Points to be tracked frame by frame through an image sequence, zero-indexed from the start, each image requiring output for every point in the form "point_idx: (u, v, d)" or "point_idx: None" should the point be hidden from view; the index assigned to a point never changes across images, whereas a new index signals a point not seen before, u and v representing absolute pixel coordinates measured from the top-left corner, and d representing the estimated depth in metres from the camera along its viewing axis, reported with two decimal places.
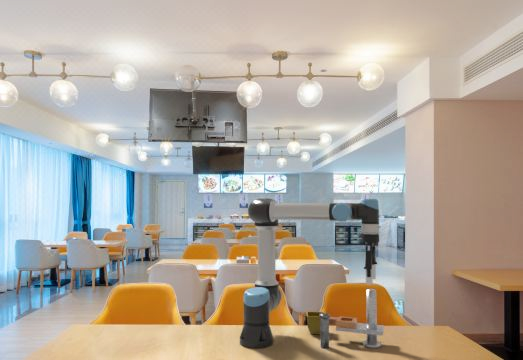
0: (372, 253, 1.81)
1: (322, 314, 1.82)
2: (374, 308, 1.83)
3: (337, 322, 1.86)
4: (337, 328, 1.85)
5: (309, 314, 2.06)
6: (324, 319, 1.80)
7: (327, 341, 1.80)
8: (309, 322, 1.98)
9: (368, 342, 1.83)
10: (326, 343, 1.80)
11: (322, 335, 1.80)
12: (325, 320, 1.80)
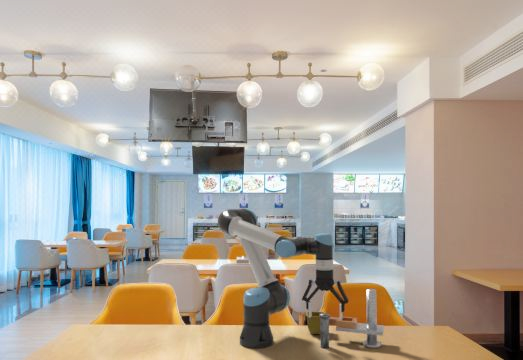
0: None
1: (322, 314, 1.82)
2: (374, 308, 1.83)
3: (337, 322, 1.86)
4: (337, 328, 1.85)
5: None
6: (324, 319, 1.80)
7: (327, 341, 1.80)
8: (309, 322, 1.98)
9: (368, 342, 1.83)
10: (326, 343, 1.80)
11: (322, 335, 1.80)
12: (325, 320, 1.80)
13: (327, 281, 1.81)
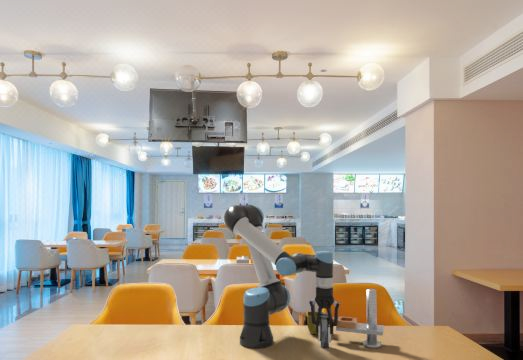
0: (318, 308, 1.82)
1: (322, 314, 1.82)
2: (374, 308, 1.83)
3: None
4: (337, 328, 1.85)
5: (309, 314, 2.06)
6: (324, 319, 1.80)
7: (327, 341, 1.80)
8: (309, 322, 1.98)
9: (368, 342, 1.83)
10: (326, 343, 1.80)
11: (322, 335, 1.80)
12: (325, 320, 1.80)
13: (328, 297, 1.81)
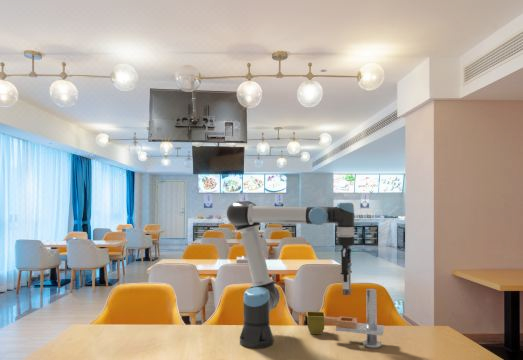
0: (348, 257, 1.87)
1: None
2: (374, 308, 1.83)
3: (337, 322, 1.86)
4: (337, 328, 1.85)
5: (309, 314, 2.06)
6: None
7: None
8: (309, 322, 1.98)
9: (368, 342, 1.83)
10: None
11: (350, 282, 1.88)
12: None
13: (349, 245, 1.92)
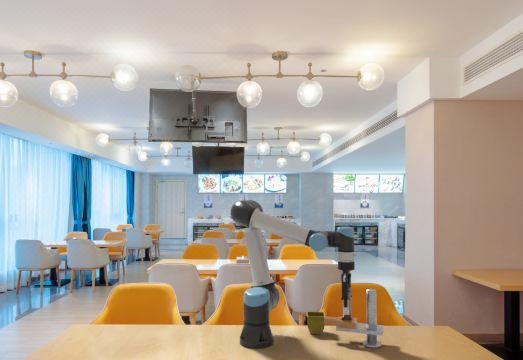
0: (348, 282, 1.87)
1: None
2: (374, 308, 1.83)
3: (337, 322, 1.86)
4: (337, 328, 1.85)
5: (309, 314, 2.06)
6: (350, 291, 1.89)
7: None
8: (309, 322, 1.98)
9: (368, 342, 1.83)
10: None
11: (350, 307, 1.88)
12: None
13: None
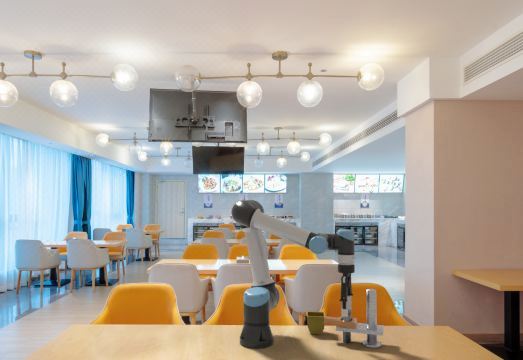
0: (347, 284, 1.86)
1: None
2: (374, 308, 1.83)
3: (337, 322, 1.86)
4: (337, 328, 1.85)
5: (309, 314, 2.06)
6: (350, 314, 1.88)
7: None
8: (309, 322, 1.98)
9: (368, 342, 1.83)
10: None
11: None
12: None
13: (349, 274, 1.91)
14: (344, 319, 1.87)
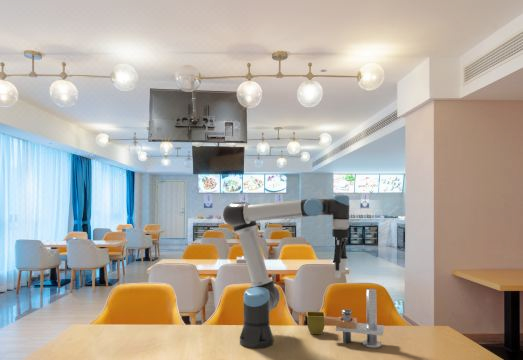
0: (341, 247, 1.87)
1: (347, 311, 1.88)
2: (374, 308, 1.83)
3: (337, 322, 1.86)
4: (337, 328, 1.85)
5: (309, 314, 2.06)
6: (350, 314, 1.88)
7: None
8: (309, 322, 1.98)
9: (368, 342, 1.83)
10: None
11: None
12: None
13: (343, 239, 1.92)
14: (344, 319, 1.87)
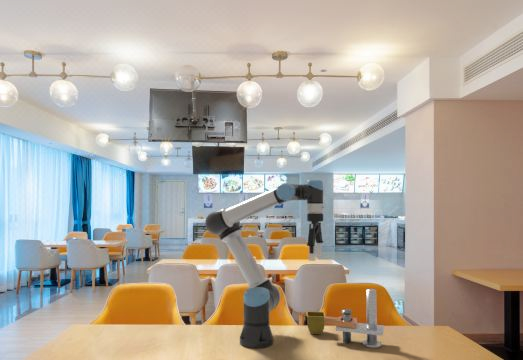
0: (316, 231, 1.91)
1: (347, 310, 1.88)
2: (374, 308, 1.83)
3: (337, 322, 1.86)
4: (337, 328, 1.85)
5: (309, 314, 2.06)
6: (350, 314, 1.88)
7: None
8: (309, 322, 1.98)
9: (368, 342, 1.83)
10: None
11: None
12: None
13: (318, 223, 1.96)
14: (344, 319, 1.87)
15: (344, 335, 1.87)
